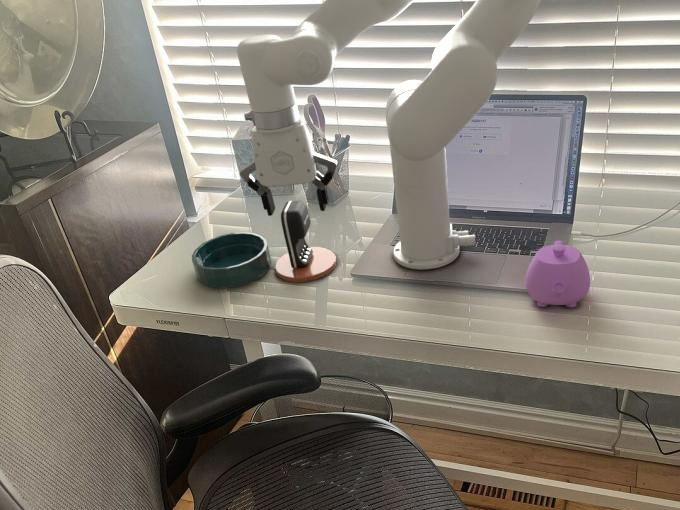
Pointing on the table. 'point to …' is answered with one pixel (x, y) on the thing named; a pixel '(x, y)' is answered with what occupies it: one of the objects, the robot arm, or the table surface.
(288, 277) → the plate
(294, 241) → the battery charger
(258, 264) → the bowl
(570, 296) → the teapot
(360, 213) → the table surface
